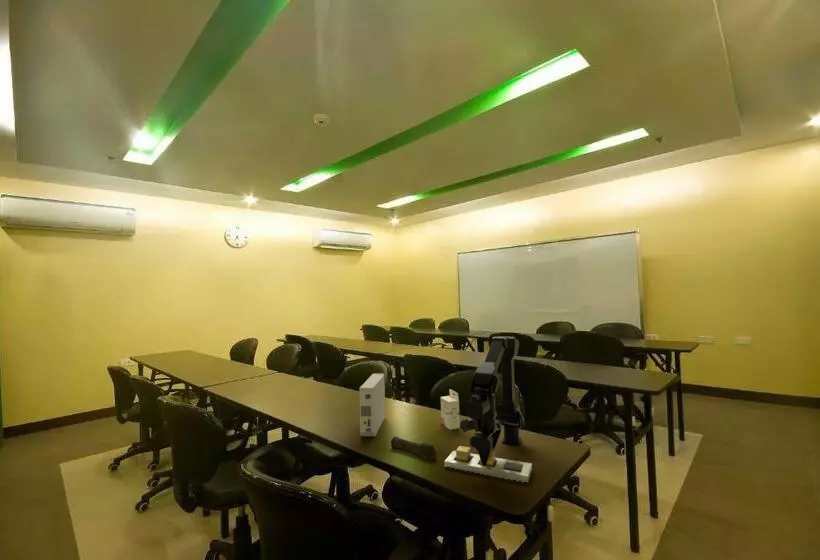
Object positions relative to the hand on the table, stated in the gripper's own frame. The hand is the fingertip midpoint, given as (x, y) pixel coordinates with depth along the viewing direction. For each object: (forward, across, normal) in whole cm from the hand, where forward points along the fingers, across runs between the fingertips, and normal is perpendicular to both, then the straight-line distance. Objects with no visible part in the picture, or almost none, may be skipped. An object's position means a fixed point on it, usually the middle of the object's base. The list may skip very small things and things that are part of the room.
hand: (487, 459), depth 118 cm
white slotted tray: (+3, 0, 0) cm, 3 cm away
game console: (+3, -19, -54) cm, 57 cm away
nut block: (+3, 0, 0) cm, 3 cm away
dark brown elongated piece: (+3, -2, -27) cm, 27 cm away
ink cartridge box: (+3, -32, -24) cm, 40 cm away
